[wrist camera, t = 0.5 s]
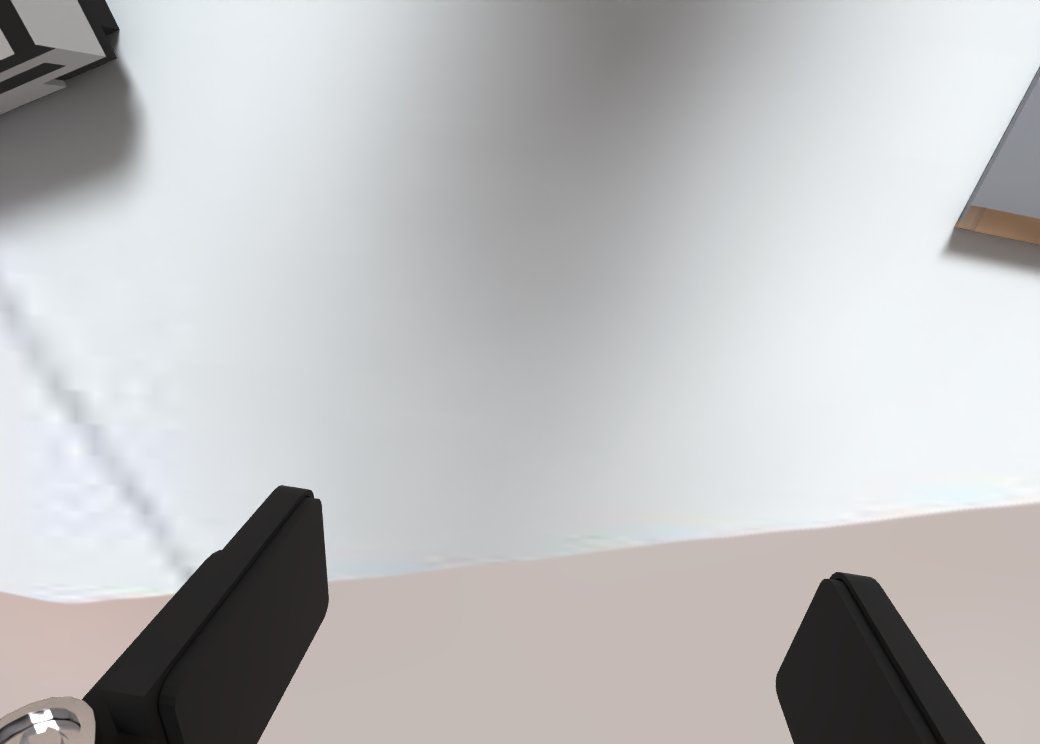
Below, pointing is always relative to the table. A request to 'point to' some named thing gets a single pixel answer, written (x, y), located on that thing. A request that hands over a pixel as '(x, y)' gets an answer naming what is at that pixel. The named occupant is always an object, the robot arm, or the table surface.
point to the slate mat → (1014, 164)
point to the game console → (49, 45)
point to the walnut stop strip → (1001, 224)
